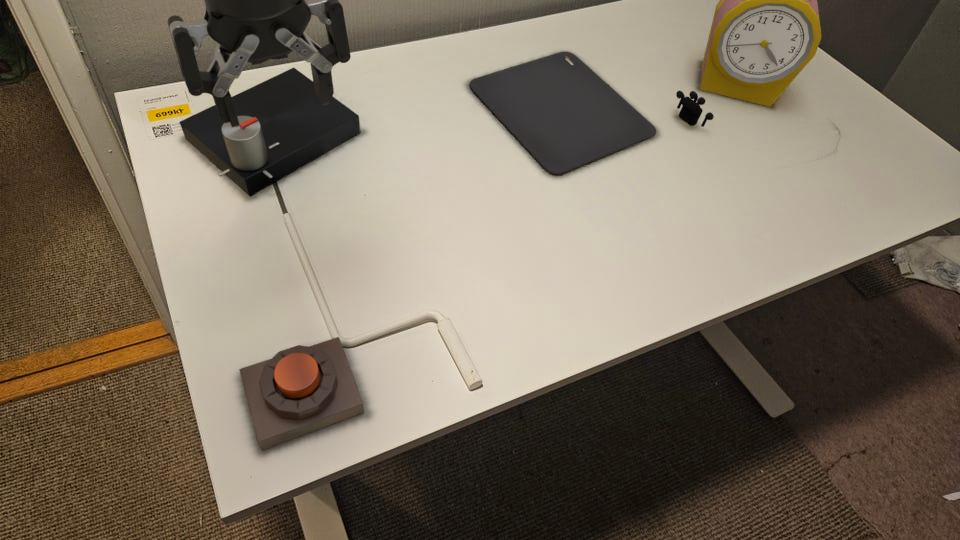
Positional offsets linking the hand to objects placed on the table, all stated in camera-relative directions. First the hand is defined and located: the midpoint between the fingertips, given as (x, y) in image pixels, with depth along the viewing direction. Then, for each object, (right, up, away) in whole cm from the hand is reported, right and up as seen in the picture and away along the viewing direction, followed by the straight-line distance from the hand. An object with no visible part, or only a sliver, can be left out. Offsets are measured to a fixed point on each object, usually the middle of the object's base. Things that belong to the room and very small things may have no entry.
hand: (279, 110), depth 58 cm
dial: (-9, -2, +17) cm, 20 cm away
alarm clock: (+61, +15, +42) cm, 76 cm away
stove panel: (-9, +2, +24) cm, 25 cm away
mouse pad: (+31, +9, +34) cm, 47 cm away
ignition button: (+2, -26, 0) cm, 26 cm away
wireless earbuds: (+50, +7, +35) cm, 62 cm away
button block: (+1, -28, +3) cm, 28 cm away
